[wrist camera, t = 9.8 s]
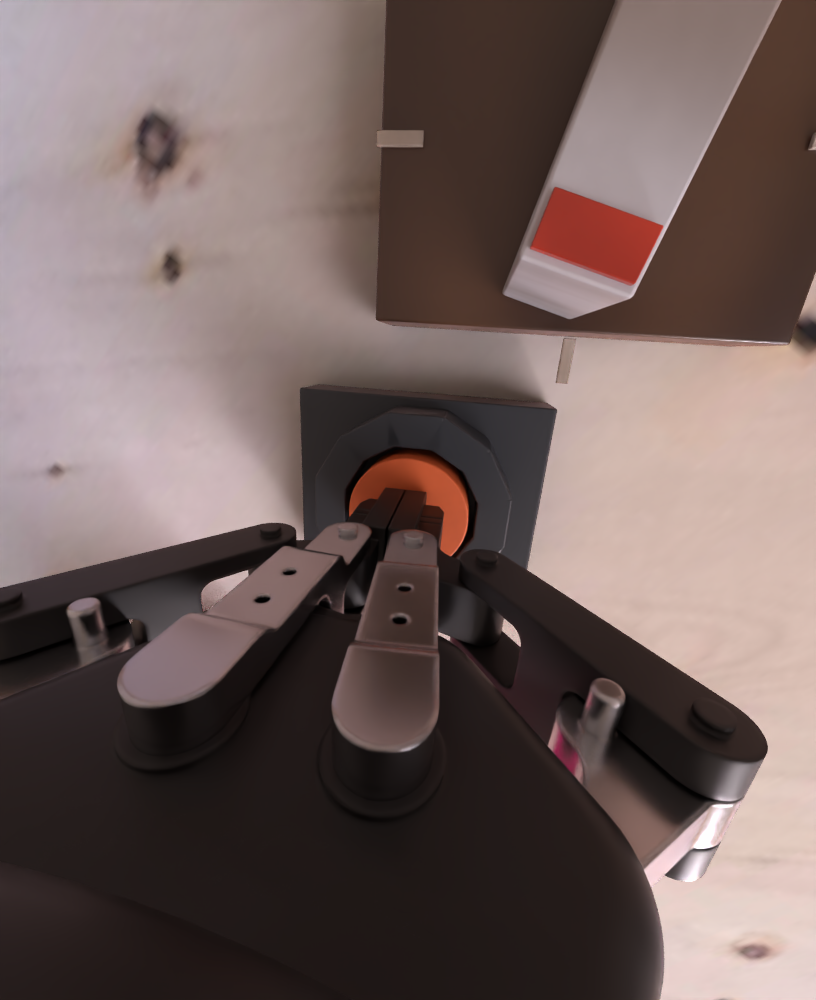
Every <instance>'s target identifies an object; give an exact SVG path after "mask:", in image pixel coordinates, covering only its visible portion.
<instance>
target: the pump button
mask: <svg viewBox="0 0 816 1000" xmlns="http://www.w3.org/2000/svg"><path fill="white" fill-rule="evenodd" d="M385 487H387V488H396V489H405V490H414V491H423V492H427V499H426V505H432V506H439V507H440V508H441V509H442V510H443V512H444V519H443V529H442V538H441V548H440V549H441V550H442V551H443V552H444V553H445V554H447V555H449V556H452V555H453V554H454V553H455V552H456V550H457V549H458V548H459V546H460V545H461V543H462V541H463V539H464V537H465V534H466V531H467V527H468V514H469V495H468V490H467V487H466V484H465V481H464V479H463V477H462V476H461V474H460V473H459V471H458V470H457V469H456V467H455V466H454V465H452V464H451V463H449V462H448V461H446V460H445V459H444V458H442V457H441V456H439V455H438V454H436V453H435V452H432V451H429V450H423V449H413V448H403V449H399V450H395V451H392V452H390V453H388V454H386V455H384V456H382V457H381V458H380V459H378V460H377V461H376V462H375V463H374V464H373V465H372V466H371V467H370V468H369V469H368V470H367V472H366V473H365V474H364V475H363V476H362V477H361V478H360V480H359V481H358V482H357V484H356V486H355V488H354V490H353V492H352V495H351V499H350V503H349V517H350V516H351V514H352V513H353V512H354V510H355V509H356V508H357V506H358V505H359V504H360V503H361V502H363V501H365V500H367V499H369V498H371V499H378V498H379V496H380V495H381V493H382V492H383V490H384V489H385Z"/></svg>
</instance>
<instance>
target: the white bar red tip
mask: <svg viewBox="0 0 816 1000" xmlns="http://www.w3.org/2000/svg"><path fill="white" fill-rule="evenodd" d="M781 1H782V0H615V3H614V5H613V8H612V10H611V13H610V16H609V18H608V21H607V23H606V26H605V28H604V31H603V34H602V36H601V39H600V41H599V44H598V46H597V49H596V52H595V54H594V57H593V59H592V62H591V64H590V67H589V70H588V72H587V75H586V77H585V80H584V82H583V85H582V88H581V90H580V93H579V95H578V98H577V100H576V103H575V106H574V108H573V111H572V113H571V116H570V119H569V121H568V124H567V126H566V129H565V131H564V134H563V137H562V139H561V142H560V144H559V147H558V149H557V152H556V155H555V157H554V160H553V162H552V165H551V167H550V170H549V173H548V175H547V178H546V180H545V183H544V185H543V188H542V191H541V193H540V196H539V198H538V201H537V203H536V206H535V209H534V211H533V214H532V216H531V219H530V221H529V224H528V227H527V229H526V232H525V234H524V237H523V240H522V242H521V245H520V247H519V250H518V252H517V255H516V258H515V260H514V263H513V265H512V268H511V270H510V273H509V276H508V278H507V281H506V283H505V286H504V288H503V294H504V295H505V296H508V297H511V298H513V299H516V300H519V301H521V302H524V303H527V304H529V305H532V306H535V307H538V308H540V309H543V310H546V311H548V312H551V313H554V314H556V315H559V316H562V317H565V318H567V319H573V318H576V317H579V316H581V315H584V314H587V313H590V312H593V311H596V310H599V309H602V308H605V307H607V306H610V305H613V304H616V303H619V302H622V301H625V300H628V299H630V298H631V297H632V296H633V295H634V293H635V292H636V290H637V288H638V286H639V284H640V282H641V280H642V278H643V276H644V274H645V272H646V270H647V268H648V266H649V264H650V262H651V260H652V258H653V256H654V254H655V252H656V250H657V248H658V246H659V244H660V242H661V240H662V238H663V236H664V234H665V232H666V230H667V228H668V226H669V224H670V222H671V220H672V218H673V216H674V214H675V212H676V210H677V208H678V206H679V204H680V202H681V200H682V198H683V196H684V194H685V192H686V190H687V188H688V186H689V184H690V182H691V180H692V178H693V176H694V174H695V172H696V170H697V168H698V166H699V164H700V162H701V160H702V158H703V156H704V154H705V152H706V150H707V148H708V146H709V144H710V142H711V140H712V138H713V136H714V134H715V132H716V130H717V128H718V126H719V124H720V122H721V120H722V118H723V116H724V114H725V112H726V110H727V108H728V106H729V104H730V102H731V100H732V98H733V96H734V94H735V92H736V90H737V88H738V86H739V84H740V82H741V80H742V78H743V76H744V74H745V72H746V70H747V68H748V66H749V64H750V62H751V60H752V58H753V56H754V54H755V52H756V50H757V49H758V47H759V45H760V43H761V41H762V39H763V37H764V35H765V33H766V31H767V29H768V27H769V25H770V23H771V21H772V19H773V17H774V15H775V13H776V11H777V9H778V7H779V5H780V3H781Z"/></svg>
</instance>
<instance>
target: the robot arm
mask: <svg viewBox="0 0 816 1000" xmlns="http://www.w3.org/2000/svg"><path fill="white" fill-rule="evenodd" d="M426 499H427V492H423V491H414V490H405V489H396V488H387V487H385V489H384V490H383V492H382V493H381V495H380V496H379V498H378V499H371V498H369V499H367V500H365V501H363V502H361V503H360V504H359V505H358V506H357V508H356V509H355V510H354V512H353V513H352V514H351V516H350V517H349V518H348V520H347V521H346V522H338V523H334V524H331V525H329V526H327V527H326V528H325V529H324V530H323V531H322V532H321V533H320V534H319V535H318V536H317V537H316V538H315V539H314V540H296V530H295V528H294V527H292V526H290V525H288V524H283V523H266V524H260V525H256V526H252V527H248V528H244V529H240V530H236V531H232V532H228V533H223V534H219V535H215V536H211V537H207V538H203V539H199V540H195V541H191V542H187V543H183V544H178V545H174V546H170V547H166V548H162V549H158V550H154V551H150V552H146V553H142V554H138V555H134V556H129V557H125V558H121V559H117V560H113V561H109V562H105V563H101V564H97V565H93V566H89V567H84V568H80V569H76V570H72V571H68V572H64V573H60V574H56V575H52V576H48V577H44V578H39V579H35V580H31V581H27V582H23V583H19V584H15V585H11V586H7V587H3V588H0V1000H660V997H661V990H662V984H663V976H664V945H663V935H662V928H661V923H660V918H659V913H658V909H657V906H656V902H655V899H654V895H653V892H652V889H651V888H652V887H653V886H654V885H655V884H656V883H657V882H658V881H659V880H660V879H661V878H662V877H663V876H664V875H665V876H667V877H669V878H672V879H675V880H679V881H687V882H690V881H695V880H697V879H699V878H701V877H702V876H703V875H704V873H705V871H706V869H707V867H708V866H709V864H710V862H711V860H712V858H713V856H714V854H715V852H716V850H717V848H718V846H719V844H720V842H721V841H722V839H723V837H724V835H725V833H726V831H727V829H728V827H729V825H730V823H731V821H732V819H733V817H734V816H735V814H736V812H737V810H738V808H739V806H740V804H741V802H742V800H743V798H744V796H745V794H746V792H747V791H748V789H749V787H750V785H751V783H752V781H753V779H754V777H755V775H756V773H757V771H758V769H759V768H760V766H761V764H762V762H763V760H764V758H765V756H766V754H767V751H768V746H767V741H766V739H765V737H764V735H763V733H762V732H761V730H760V729H759V727H758V726H757V725H756V724H755V723H754V722H753V721H752V720H751V719H750V718H749V717H748V716H747V715H746V714H745V713H743V712H742V711H741V710H740V709H738V708H737V707H735V706H734V705H733V704H731V703H730V702H728V701H726V700H725V699H723V698H722V697H720V696H719V695H717V694H716V693H714V692H713V691H711V690H710V689H708V688H707V687H705V686H704V685H702V684H700V683H699V682H697V681H696V680H694V679H693V678H691V677H690V676H688V675H687V674H685V673H684V672H682V671H681V670H679V669H677V668H676V667H674V666H673V665H671V664H670V663H668V662H667V661H665V660H664V659H662V658H661V657H659V656H658V655H656V654H655V653H653V652H651V651H650V650H648V649H647V648H645V647H644V646H642V645H641V644H639V643H638V642H636V641H635V640H633V639H632V638H630V637H629V636H627V635H625V634H624V633H622V632H621V631H619V630H618V629H616V628H615V627H613V626H612V625H610V624H609V623H607V622H606V621H604V620H603V619H601V618H599V617H598V616H596V615H595V614H593V613H592V612H590V611H589V610H587V609H586V608H584V607H583V606H581V605H580V604H578V603H577V602H575V601H573V600H572V599H570V598H569V597H567V596H566V595H564V594H563V593H561V592H560V591H558V590H557V589H555V588H554V587H552V586H551V585H549V584H547V583H546V582H544V581H543V580H541V579H540V578H538V577H537V576H535V575H534V574H532V573H531V572H529V571H528V570H526V569H525V568H523V567H521V566H520V565H518V564H517V563H515V562H514V561H512V560H511V559H509V558H508V557H506V556H504V555H503V554H500V553H498V552H495V551H491V550H485V549H473V550H468V551H466V552H464V553H463V554H462V555H461V557H460V560H459V559H456V558H453V557H451V556H449V555H447V554H445V553H444V552H443V551H442V550H441V549H440V548H441V538H442V529H443V519H444V512H443V510H442V509H441V508H440V507H439V506H432V505H426ZM245 570H248V574H249V576H248V577H247V578H246V579H244V580H243V581H242V582H241V583H240V584H239V585H237V586H236V587H235V588H234V589H233V590H232V591H230V592H229V593H228V594H227V595H226V596H225V597H223V598H222V599H221V600H220V601H219V602H218V603H216V604H215V605H214V606H213V607H212V608H211V609H209V610H207V611H204V612H203V611H202V604H201V592H202V590H203V588H204V587H205V586H206V585H207V584H208V583H210V582H212V581H214V580H217V579H220V578H223V577H226V576H230V575H233V574H236V573H239V572H242V571H245ZM504 618H505V619H506V620H507V621H508V622H509V623H511V624H512V625H513V626H514V627H515V629H516V630H517V632H518V634H519V636H520V640H521V647H520V646H518V645H517V644H516V643H515V642H514V641H513V640H512V639H510V638H509V637H508V636H507V635H506V634H505V633H504V632H502V626H503V620H504ZM129 619H133V622H132V623H131V624H130V622H129ZM438 632H440V633H443V634H445V635H448V636H450V641H448V640H446V639H445V638H443V637H441V636H438Z"/></svg>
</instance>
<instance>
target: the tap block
mask: <svg viewBox="0 0 816 1000" xmlns="http://www.w3.org/2000/svg"><path fill="white" fill-rule="evenodd" d="M614 3H615V0H386V25H385V56H384V86H383V116H382V130H377V146H378V147H381V177H380V208H379V238H378V268H377V299H376V320H378V321H380V322H384V323H387V324H390V325H393V326H406V327H423V328H439V329H455V330H471V331H488V332H504V333H520V334H537V335H553V336H569V337H586V338H602V339H618V340H635V341H651V342H667V343H683V344H700V345H716V346H773V345H788V344H789V343H790V341H791V338H792V336H793V333H794V330H795V327H796V325H797V322H798V319H799V316H800V314H801V311H802V308H803V305H804V303H805V300H806V297H807V294H808V292H809V289H810V286H811V283H812V281H813V278H814V275H815V273H816V0H782V1H781V3H780V5H779V7H778V9H777V11H776V13H775V15H774V17H773V19H772V21H771V23H770V25H769V27H768V29H767V31H766V33H765V35H764V37H763V39H762V41H761V43H760V45H759V47H758V49H757V50H756V52H755V54H754V56H753V58H752V60H751V62H750V64H749V66H748V68H747V70H746V72H745V74H744V76H743V78H742V80H741V82H740V84H739V86H738V88H737V90H736V92H735V94H734V96H733V98H732V100H731V102H730V104H729V106H728V108H727V110H726V112H725V114H724V116H723V118H722V120H721V122H720V124H719V126H718V128H717V130H716V132H715V134H714V136H713V138H712V140H711V142H710V144H709V146H708V148H707V150H706V152H705V154H704V156H703V158H702V160H701V162H700V164H699V166H698V168H697V170H696V172H695V174H694V176H693V178H692V180H691V182H690V184H689V186H688V188H687V190H686V192H685V194H684V196H683V198H682V200H681V202H680V204H679V206H678V208H677V210H676V212H675V214H674V216H673V218H672V220H671V222H670V224H669V226H668V228H667V230H666V232H665V234H664V236H663V238H662V240H661V242H660V244H659V246H658V248H657V250H656V252H655V254H654V256H653V258H652V260H651V262H650V264H649V266H648V268H647V270H646V272H645V274H644V276H643V278H642V280H641V282H640V284H639V286H638V288H637V290H636V292H635V293H634V295H633V296H632V297H631V298H630V299H628V300H625V301H622V302H619V303H616V304H613V305H610V306H607V307H605V308H602V309H599V310H596V311H593V312H590V313H587V314H584V315H581V316H579V317H576V318H573V319H567V318H565V317H562V316H559V315H556V314H554V313H551V312H548V311H546V310H543V309H540V308H538V307H535V306H532V305H529V304H527V303H524V302H521V301H519V300H516V299H513V298H511V297H508V296H505V295H504V294H503V288H504V286H505V283H506V281H507V278H508V276H509V273H510V270H511V268H512V265H513V263H514V260H515V258H516V255H517V252H518V250H519V247H520V245H521V242H522V240H523V237H524V234H525V232H526V229H527V227H528V224H529V221H530V219H531V216H532V214H533V211H534V209H535V206H536V203H537V201H538V198H539V196H540V193H541V191H542V188H543V185H544V183H545V180H546V178H547V175H548V173H549V170H550V167H551V165H552V162H553V160H554V157H555V155H556V152H557V149H558V147H559V144H560V142H561V139H562V137H563V134H564V131H565V129H566V126H567V124H568V121H569V119H570V116H571V113H572V111H573V108H574V106H575V103H576V100H577V98H578V95H579V93H580V90H581V88H582V85H583V82H584V80H585V77H586V75H587V72H588V70H589V67H590V64H591V62H592V59H593V57H594V54H595V52H596V49H597V46H598V44H599V41H600V39H601V36H602V34H603V31H604V28H605V26H606V23H607V21H608V18H609V16H610V13H611V10H612V8H613V5H614ZM575 341H576V339H568V338H564V339H563V345H562V350H561V356H560V361H559V367H558V372H557V378H556V383H563V384H567V383H568V377H569V372H570V367H571V362H572V357H573V351H574V346H575Z"/></svg>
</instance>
